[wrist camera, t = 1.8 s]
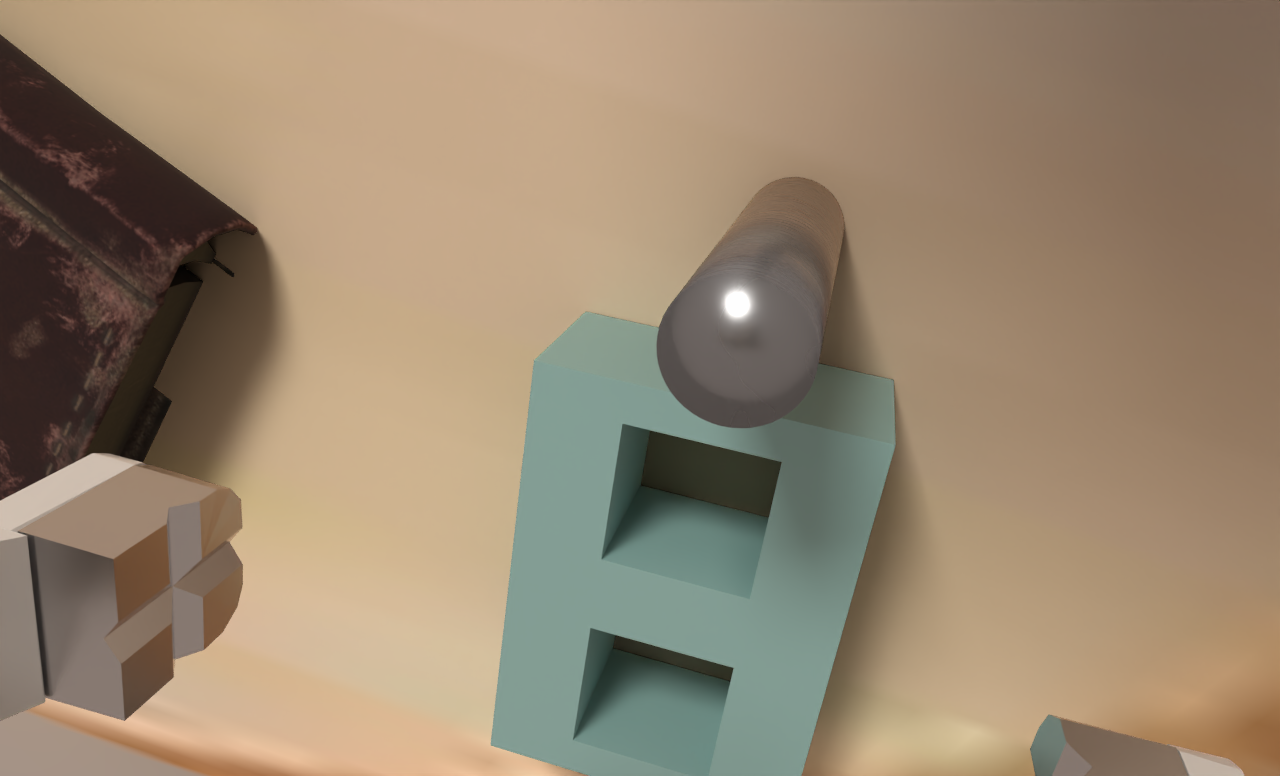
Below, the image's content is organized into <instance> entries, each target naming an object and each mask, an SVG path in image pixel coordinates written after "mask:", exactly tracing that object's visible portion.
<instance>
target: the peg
mask: <svg viewBox="0 0 1280 776" xmlns="http://www.w3.org/2000/svg"><path fill="white" fill-rule="evenodd" d="M843 235H844V218H843V214H842V210H841V208H840V205H839V204H838V202H837V200H836V199H835V197H834V196H833V195H832V194H831V193H830V192H829V191H828V190H827V189H826V188H825V187H824V186H822V185H820V184H819V183H817V182H815V181H812V180H809V179H805V178H799V177H789V178H783V179H779V180H776V181H774V182H772V183H770V184H768V185H766V186H765V187H764V188H762V189H761V190H760V191H759V192H758V193H757V194H756V195H755V196H754V198H753V199H752V200H751V201H750V203H749V204H748V205H747V207H746V208H745V209H744V210H743V212H742V213H741V214H740V216H739V217H738V218H737V219H736V221H735V222H734V223H733V225H732V226H731V227H730V228H729V230H728V231H727V232H726V234H725V235H724V236H723V237H722V239H721V240H720V241H719V243H718V244H717V245H716V246H715V248H714V249H713V250H712V252H711V253H710V254H709V255H708V257H707V258H706V259H705V261H704V262H703V263H702V264H701V266H700V267H699V268H698V270H697V271H696V272H695V273H694V275H693V276H692V277H691V279H690V280H689V281H688V282H687V284H686V285H685V286H684V288H683V289H682V290H681V292H680V293H679V294H678V295H677V297H676V298H675V299H674V301H673V302H672V303H671V305H670V306H669V307H668V309H667V311H666V312H665V314H664V316H663V318H662V321H661V324H660V326H659V331H658V335H657V344H656V348H657V359H658V365H659V368H660V372H661V375H662V377H663V379H664V381H665V383H666V385H667V387H668V388H669V390H670V392H671V393H672V394H673V396H674V397H675V398H676V399H677V400H678V401H679V402H680V403H681V404H682V405H683V406H684V407H685V408H686V409H687V410H689V411H690V412H691V413H693V414H694V415H696V416H698V417H699V418H701V419H703V420H705V421H708V422H710V423H713V424H716V425H719V426H724V427H729V428H753V427H758V426H763V425H766V424H769V423H772V422H774V421H776V420H778V419H780V418H782V417H784V416H785V415H787V414H788V413H790V412H791V411H792V410H793V409H794V408H796V407H797V406H798V405H799V403H800V402H801V401H802V400H803V399H804V398H805V396H806V395H807V393H808V392H809V390H810V388H811V386H812V384H813V382H814V379H815V376H816V373H817V369H818V364H819V359H820V353H821V348H822V343H823V338H824V333H825V328H826V323H827V317H828V312H829V307H830V302H831V297H832V292H833V287H834V281H835V276H836V271H837V266H838V261H839V256H840V251H841V246H842V240H843Z"/></svg>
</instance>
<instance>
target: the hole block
mask: <svg viewBox="0 0 1280 776" xmlns="http://www.w3.org/2000/svg"><path fill="white" fill-rule="evenodd" d="M658 331H659V328H658V327H653V326H649V325H644V324H640V323H635V322H631V321H626V320H622V319H617V318H613V317H608V316H604V315H599V314H595V313H590V312H585V313H584V314H583V315H582V316H581V317H580V318H578V319H577V320H576V321H575V322H574V323H573V324H572V325H571V326H570V327H569V328H568V329H567V330H566V331H565V332H564V333H563V334H562V335H561V336H559V337H558V338H557V339H556V340H555V341H554V342H553V343H552V344H551V345H550V346H549V347H548V348H547V349H546V350H545V351H544V352H543V353H541V354H540V355H539V356H538V357H537V358H536V359H535V360H534V366H533V375H532V384H531V392H530V401H529V410H528V419H527V428H526V437H525V445H524V454H523V463H522V472H521V481H520V490H519V499H518V507H517V516H516V525H515V534H514V543H513V552H512V561H511V569H510V578H509V587H508V596H507V605H506V614H505V622H504V631H503V640H502V649H501V658H500V667H499V676H498V684H497V693H496V702H495V711H494V720H493V729H492V738H491V746H494V747H498V748H501V749H504V750H507V751H511V752H514V753H517V754H520V755H524V756H527V757H530V758H534V759H537V760H540V761H543V762H547V763H550V764H553V765H556V766H560V767H563V768H566V769H569V770H573V771H576V772H579V773H582V774H586V775H589V776H802V772H803V769H804V765H805V762H806V758H807V755H808V751H809V747H810V744H811V740H812V737H813V733H814V730H815V726H816V723H817V719H818V716H819V712H820V709H821V705H822V702H823V698H824V695H825V691H826V688H827V684H828V681H829V677H830V674H831V670H832V667H833V663H834V660H835V656H836V653H837V649H838V646H839V642H840V639H841V635H842V631H843V628H844V624H845V621H846V617H847V614H848V610H849V607H850V603H851V600H852V596H853V593H854V589H855V586H856V582H857V579H858V575H859V572H860V568H861V565H862V561H863V558H864V554H865V551H866V547H867V544H868V540H869V537H870V533H871V530H872V526H873V523H874V519H875V516H876V512H877V508H878V505H879V501H880V498H881V494H882V491H883V487H884V484H885V480H886V477H887V473H888V470H889V466H890V463H891V459H892V456H893V452H894V449H895V445H896V442H895V408H894V380H892V379H887V378H883V377H878V376H874V375H869V374H865V373H860V372H856V371H851V370H847V369H842V368H838V367H833V366H829V365H824V364H820V363H819V364H818V369H817V373H816V376H815V379H814V382H813V384H812V386H811V388H810V390H809V392H808V393H807V395H806V396H805V398H804V399H803V400H802V401H801V402H800V403H799V405H798V406H797V407H796V408H794V409H793V410H792V411H791V412H790V413H788V414H787V415H785V416H784V417H782V418H780V419H778V420H776V421H774V422H772V423H769V424H766V425H763V426H758V427H753V428H729V427H724V426H719V425H716V424H713V423H710V422H708V421H705V420H703V419H701V418H699V417H698V416H696V415H694V414H693V413H691V412H690V411H689V410H687V409H686V408H685V407H684V406H683V405H682V404H681V403H680V402H679V401H678V400H677V399H676V398H675V397H674V396H673V394H672V393H671V392H670V390H669V388H668V387H667V385H666V383H665V381H664V379H663V377H662V375H661V372H660V368H659V365H658V359H657V348H656V344H657V335H658ZM650 430H651V431H655V432H659V433H663V434H668V435H672V436H676V437H680V438H684V439H688V440H693V441H697V442H701V443H705V444H709V445H713V446H717V447H722V448H726V449H730V450H734V451H738V452H742V453H746V454H751V455H755V456H759V457H763V458H767V459H771V460H775V461H780V462H782V463H781V467H780V472H779V476H778V480H777V485H776V489H775V493H774V497H773V502H772V506H771V510H770V515H769V517H765V516H761V515H757V514H753V513H749V512H745V511H741V510H737V509H733V508H729V507H725V506H721V505H717V504H713V503H709V502H705V501H701V500H697V499H693V498H689V497H685V496H681V495H677V494H673V493H669V492H665V491H661V490H657V489H653V488H649V487H645V486H641V481H642V475H643V469H644V463H645V457H646V451H647V445H648V439H649V434H650ZM615 635H618V636H621V637H625V638H628V639H632V640H635V641H639V642H643V643H646V644H650V645H653V646H657V647H660V648H664V649H668V650H671V651H675V652H678V653H682V654H685V655H689V656H693V657H696V658H700V659H703V660H707V661H711V662H714V663H718V664H721V665H725V666H728V667H732V668H734V669H733V673H732V677H731V681H727V680H723V679H720V678H716V677H713V676H709V675H705V674H702V673H698V672H695V671H691V670H688V669H684V668H681V667H677V666H674V665H670V664H667V663H663V662H659V661H656V660H652V659H649V658H645V657H642V656H638V655H635V654H631V653H628V652H624V651H620V650H617V649H613V646H614V640H615Z"/></svg>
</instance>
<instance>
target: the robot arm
mask: <svg viewBox="0 0 1280 776" xmlns="http://www.w3.org/2000/svg"><path fill="white" fill-rule="evenodd" d="M241 529H242V511H241V499H240V498H239V497H238V496H237V495H236V494H235V493H234V492H233V491H232V490H231V489H230V488H226V487H223V486H220V485H216V484H213V483H210V482H206V481H203V480H200V479H196V478H193V477H190V476H186V475H183V474H180V473H176V472H173V471H170V470H166V469H163V468H159V467H156V466H153V465H146V464H144V463H143V462H139V461H135V460H132V459H128V458H124V457H121V456H117V455H113V454H106V453H92V454H90V455H88V456H86V457H84V458H82V459H80V460H78V461H77V462H75V463H73V464H71V465H69V466H67V467H65V468H63V469H61V470H59V471H57V472H55V473H53V474H51V475H49V476H47V477H45V478H43V479H41V480H40V481H38V482H36V483H34V484H32V485H30V486H28V487H26V488H24V489H22V490H20V491H18V492H16V493H14V494H12V495H10V496H8V497H6V498H4V499H2V500H1V501H0V721H1V720H4V719H6V718H8V717H11V716H13V715H16V714H18V713H20V712H23V711H25V710H28V709H30V708H32V707H35V706H37V705H40V704H42V703H44V702H45V698H49V699H52V700H55V701H59V702H62V703H66V704H69V705H73V706H76V707H79V708H83V709H86V710H90V711H93V712H97V713H100V714H103V715H107V716H110V717H114V718H117V719H121V720H124V721H125V720H126V719H127V718H128V717H129V716H131V715H132V714H133V713H134V712H135V711H136V710H137V709H138V708H140V707H141V706H142V705H143V704H144V703H145V702H146V701H147V700H149V699H150V698H151V697H152V696H153V695H154V694H155V693H156V692H157V691H159V690H160V689H161V688H162V687H163V686H164V685H165V684H166V683H168V682H169V681H170V680H171V679H172V678H173V677H174V666H175V659H178V658H181V657H184V656H187V655H190V654H193V653H196V652H199V651H202V650H204V649H205V648H206V647H208V646H209V645H210V644H211V643H212V642H213V641H214V640H215V639H216V638H217V637H218V636H219V635H220V634H221V633H222V632H223V631H224V629H225V627H226V626H227V624H228V622H229V620H230V619H231V617H232V615H233V613H234V612H235V610H236V608H237V606H238V602H239V598H240V593H241V589H242V585H243V564H242V562H241V561H240V559H239V557H238V556H237V554H236V552H235V551H234V549H233V547H232V546H231V544H230V541H231V540H232V539H233V538H234V536H235V535H236V534H237V533H238V532H239V531H240V530H241ZM1030 750H1031V755H1032V760H1033V765H1034V770H1035V775H1036V776H1244V774H1243V772H1242V770H1241V769H1240V768H1239V767H1238V766H1237V765H1236V764H1235V763H1233V762H1232V761H1231V760H1230V759H1227V758H1223V757H1219V756H1215V755H1211V754H1207V753H1203V752H1199V751H1194V750H1190V749H1186V748H1182V747H1178V746H1174V745H1170V744H1168V745H1164V744H1161V743H1157V742H1153V741H1149V740H1145V739H1141V738H1137V737H1134V736H1130V735H1126V734H1122V733H1118V732H1114V731H1111V730H1107V729H1103V728H1099V727H1095V726H1091V725H1087V724H1084V723H1080V722H1076V721H1072V720H1068V719H1064V718H1061V717H1057V716H1053V715H1048V716H1047V718H1046V719H1045V720H1044V722H1043V723H1042V724H1041V726H1040V727H1039V729H1038V732H1037V734H1036V736H1035V739H1034V741H1033V744H1032V746H1031V748H1030Z"/></svg>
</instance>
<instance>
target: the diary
mask: <svg viewBox="0 0 1280 776" xmlns="http://www.w3.org/2000/svg"><path fill="white" fill-rule="evenodd" d="M237 229H238V230H241V231H243V232H246V233H248V234H251V235H254V234H255V233H256V232H257V227H255V226H254V225H253V224H251V223H250V222H249V221H247V220H246V219H245V218H244V217H242V216H241V215H240V214H238V213H237V212H235V211H234V210H233V209H231V208H230V207H229V206H227V205H226V204H225V203H223V202H222V201H220V200H219V199H218V198H216V197H215V196H214V195H212V194H211V193H209V192H208V191H207V190H205V189H204V188H203V187H201V186H200V185H198V184H197V183H196V182H194V181H193V180H192V179H190V178H189V177H188V176H186V175H185V174H183V173H182V172H181V171H179V170H178V169H177V168H175V167H174V166H172V165H171V164H170V163H168V162H167V161H166V160H164V159H163V158H161V157H160V156H159V155H157V154H156V153H155V152H153V151H152V150H151V149H149V148H148V147H146V146H145V145H144V144H142V143H141V142H140V141H138V140H137V139H135V138H134V137H133V136H131V135H130V134H129V133H127V132H126V131H124V130H123V129H122V128H120V127H119V126H118V125H116V124H115V123H113V122H112V121H111V120H109V119H108V118H106V117H105V116H104V115H102V114H101V113H100V112H98V111H97V110H96V109H94V108H93V107H92V106H91V105H89V104H88V103H87V102H86V101H84V100H83V99H82V98H81V97H79V96H78V95H77V94H75V93H74V92H73V91H72V90H70V89H69V88H68V87H67V86H65V85H64V84H63V83H61V82H60V81H59V80H58V79H56V78H55V77H54V76H53V75H51V74H50V73H49V72H47V71H46V70H45V69H44V68H42V67H41V66H40V65H38V64H37V63H36V62H35V61H33V60H32V59H31V58H29V57H28V56H27V55H26V54H24V53H23V52H22V51H21V50H19V49H18V48H17V47H15V46H14V45H13V44H12V43H10V42H9V41H8V40H6V39H5V38H4V37H3V36H1V35H0V501H1V500H2V499H4V498H6V497H8V496H10V495H12V494H14V493H16V492H18V491H20V490H22V489H24V488H26V487H28V486H30V485H32V484H34V483H36V482H38V481H40V480H41V479H43V478H45V477H47V476H49V475H51V474H53V473H55V472H57V471H59V470H61V469H63V468H65V467H67V466H69V465H71V464H73V463H75V462H77V461H78V460H80V459H82V458H84V457H86V456H88V455H90V454H92V453H106V454H113V455H117V456H121V457H124V458H128V459H132V460H135V461H139V462H143V461H144V459H145V457H146V455H147V452H148V450H149V448H150V446H151V444H152V442H153V440H154V438H155V436H156V434H157V431H158V429H159V427H160V425H161V423H162V421H163V419H164V417H165V415H166V413H167V411H168V408H169V406H170V404H171V402H172V401H171V400H170V399H168V398H167V397H166V396H164V395H163V394H162V393H161V392H159V391H158V390H157V389H155V388H154V387H153V386H154V384H155V382H156V380H157V378H158V376H159V374H160V372H161V370H162V367H163V365H164V363H165V361H166V359H167V357H168V355H169V353H170V351H171V348H172V346H173V344H174V342H175V340H176V338H177V336H178V334H179V331H180V329H181V327H182V325H183V323H184V321H185V319H186V317H187V315H188V312H189V310H190V308H191V306H192V304H193V302H194V300H195V298H196V296H197V293H198V291H199V289H200V287H201V285H202V283H203V281H202V280H200V279H199V278H198V277H197V276H195V275H194V274H193V273H191V272H190V271H189V270H187V269H186V268H185V267H184V266H182V265H183V264H186V263H189V262H192V261H200V262H205V263H210V264H212V262H213V263H214V264H216V265H217V266H218V267H220V268H221V269H222V270H224V271H225V272H226V273H228V274H229V275H230V276H232V277H234V273H233V272H232V271H230V270H229V269H228V268H226V267H225V266H224V265H222V264H221V263H220V262H218V261H217V260H216V259H214V257H215V255H216V254H215V252H214V251H213V249H212V248H211V246H210V245H209V244H208V242H207V241H209V240H210V239H211V238H213V237H214V236H217V235H220V234H224V233H227V232H230V231H234V230H237Z"/></svg>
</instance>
